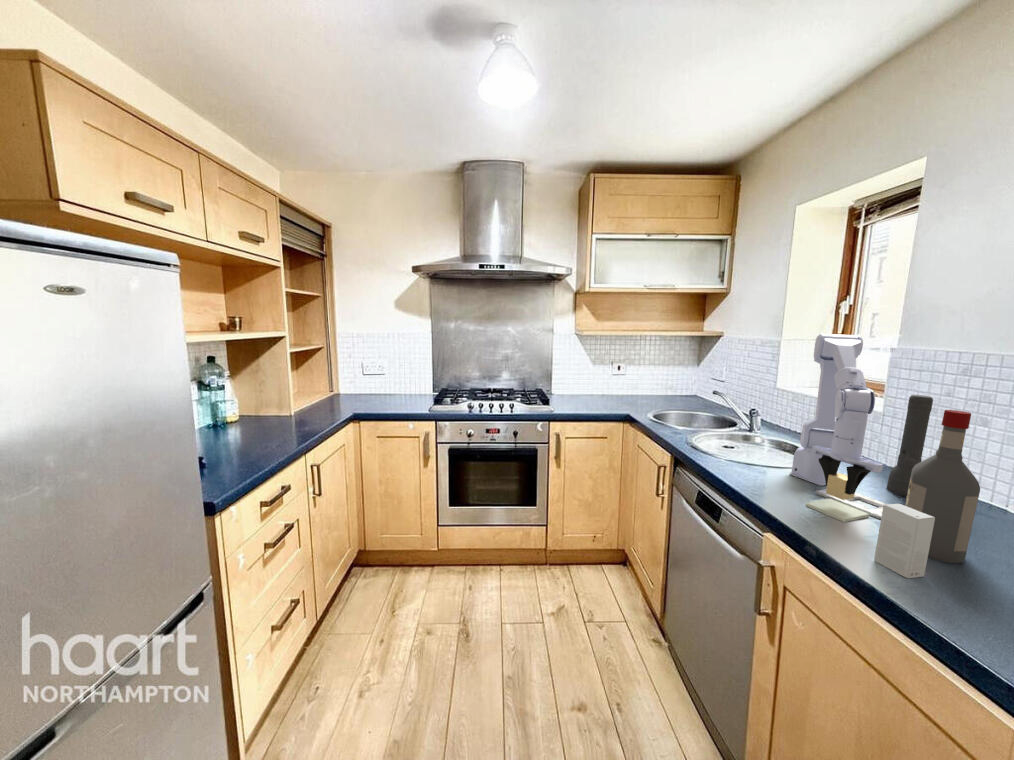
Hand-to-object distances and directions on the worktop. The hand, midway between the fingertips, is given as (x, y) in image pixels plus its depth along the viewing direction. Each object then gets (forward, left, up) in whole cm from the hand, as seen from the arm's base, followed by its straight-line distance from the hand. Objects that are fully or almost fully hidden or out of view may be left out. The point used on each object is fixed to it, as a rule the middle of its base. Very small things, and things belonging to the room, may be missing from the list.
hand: (839, 489), depth 101 cm
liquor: (+18, 0, -6) cm, 19 cm away
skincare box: (+20, -15, -6) cm, 26 cm away
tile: (0, 0, -6) cm, 6 cm away
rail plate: (0, +11, -6) cm, 12 cm away
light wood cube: (0, 0, -2) cm, 2 cm away
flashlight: (-2, +33, -6) cm, 33 cm away
